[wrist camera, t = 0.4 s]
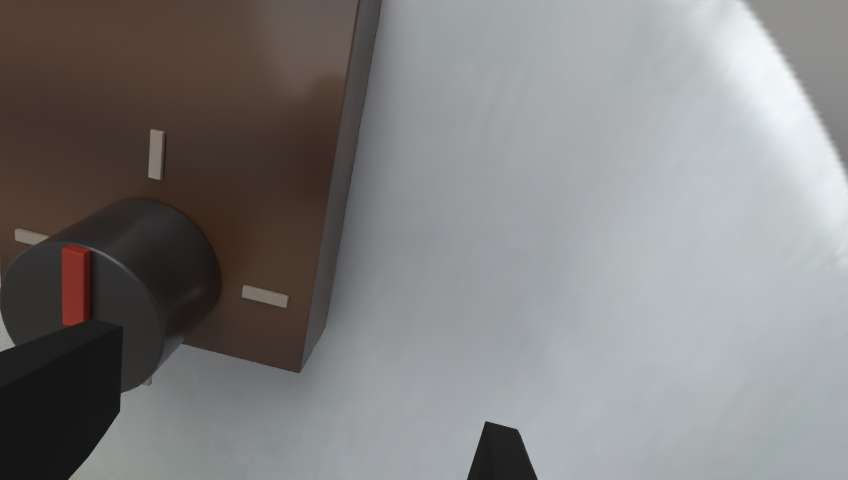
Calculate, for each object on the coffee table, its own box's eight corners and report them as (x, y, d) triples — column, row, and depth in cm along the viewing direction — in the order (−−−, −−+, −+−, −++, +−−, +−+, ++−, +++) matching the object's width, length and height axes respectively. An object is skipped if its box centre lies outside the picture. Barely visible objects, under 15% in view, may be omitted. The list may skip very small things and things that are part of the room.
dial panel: (317, 369, 24) (290, 422, 21) (61, 304, 24) (-1, 348, 21) (386, -26, 18) (363, -28, 16) (56, -101, 19) (-27, -118, 16)
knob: (215, 345, 20) (153, 421, 17) (82, 312, 20) (-7, 379, 17) (227, 218, 18) (161, 272, 15) (82, 182, 19) (-17, 227, 15)
